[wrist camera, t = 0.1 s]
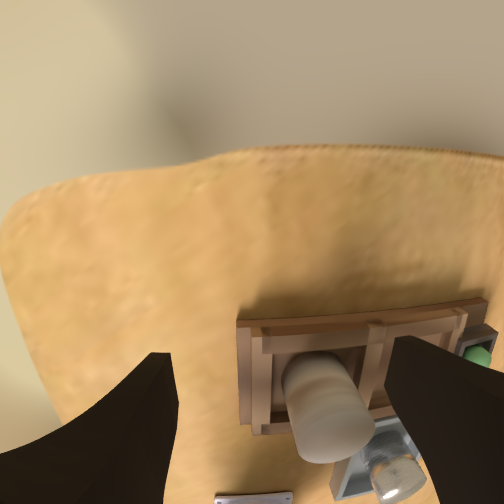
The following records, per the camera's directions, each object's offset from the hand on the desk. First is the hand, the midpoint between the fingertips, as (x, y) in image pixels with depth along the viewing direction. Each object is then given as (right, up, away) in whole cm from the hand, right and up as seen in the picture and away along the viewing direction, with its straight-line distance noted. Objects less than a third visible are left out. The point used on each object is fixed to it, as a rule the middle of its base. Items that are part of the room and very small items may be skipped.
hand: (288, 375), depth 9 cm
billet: (+11, -14, +15) cm, 23 cm away
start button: (+16, -4, +11) cm, 20 cm away
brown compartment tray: (+8, -4, +12) cm, 15 cm away
